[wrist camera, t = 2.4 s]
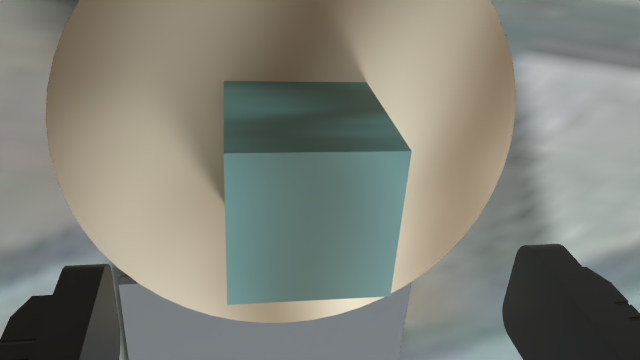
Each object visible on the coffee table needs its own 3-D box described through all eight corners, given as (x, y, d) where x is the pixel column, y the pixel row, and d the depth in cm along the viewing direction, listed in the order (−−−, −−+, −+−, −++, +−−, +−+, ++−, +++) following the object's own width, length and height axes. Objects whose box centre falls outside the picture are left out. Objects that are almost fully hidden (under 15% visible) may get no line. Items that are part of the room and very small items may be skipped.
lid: (544, -99, 16) (690, -81, 11) (459, 291, 22) (526, 412, 17) (14, -131, 14) (-103, -127, 9) (90, 309, 20) (46, 454, 15)
